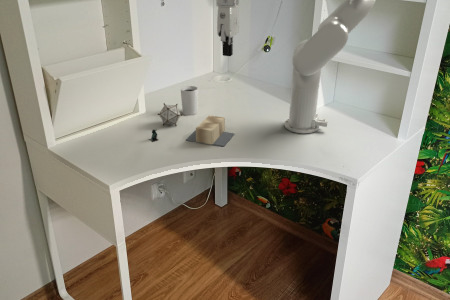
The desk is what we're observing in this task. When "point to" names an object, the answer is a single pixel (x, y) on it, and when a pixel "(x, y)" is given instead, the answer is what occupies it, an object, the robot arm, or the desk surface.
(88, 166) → the desk surface
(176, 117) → the game die
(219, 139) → the slate mat
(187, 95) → the white and black cylinder
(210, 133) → the maple block
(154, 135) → the sculpture
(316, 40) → the robot arm
